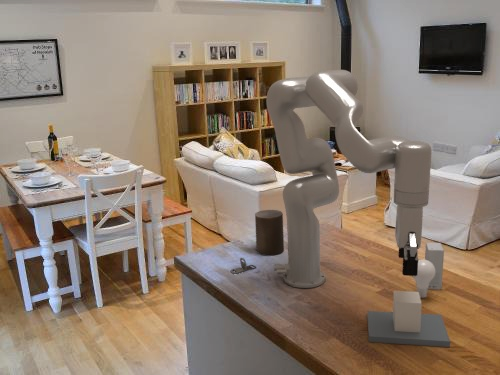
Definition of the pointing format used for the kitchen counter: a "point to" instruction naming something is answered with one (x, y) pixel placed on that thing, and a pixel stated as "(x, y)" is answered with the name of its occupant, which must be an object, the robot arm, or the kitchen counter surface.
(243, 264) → the strap clip
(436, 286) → the skincare box
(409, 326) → the cream block
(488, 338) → the kitchen counter surface
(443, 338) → the post board
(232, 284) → the kitchen counter surface
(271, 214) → the pillar candle
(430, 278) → the lightbulb
